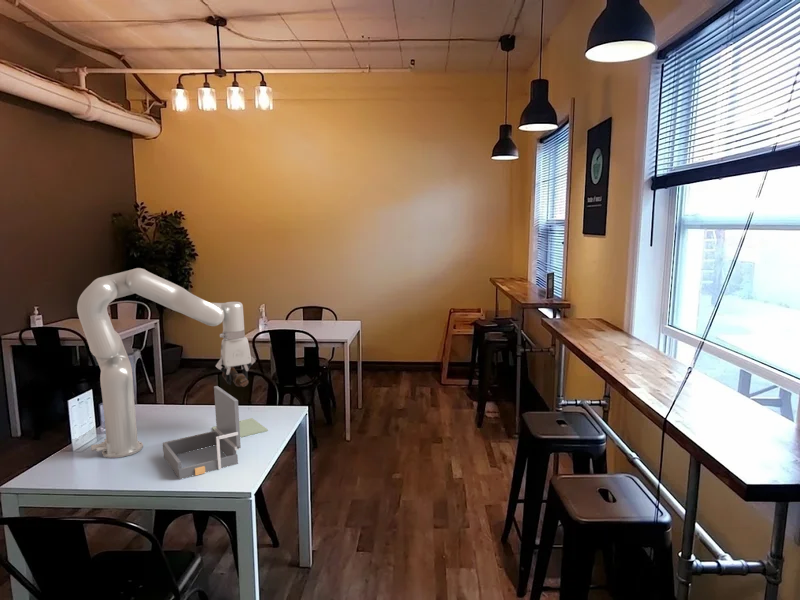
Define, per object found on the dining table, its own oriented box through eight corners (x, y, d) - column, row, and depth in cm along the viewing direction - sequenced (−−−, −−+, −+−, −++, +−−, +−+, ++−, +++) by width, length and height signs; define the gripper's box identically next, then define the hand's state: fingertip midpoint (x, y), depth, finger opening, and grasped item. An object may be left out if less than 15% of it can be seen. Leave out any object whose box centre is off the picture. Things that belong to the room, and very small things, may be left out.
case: (180, 480, 162) (175, 413, 159) (163, 456, 179) (158, 396, 176) (242, 463, 173) (238, 400, 170) (220, 442, 190) (217, 385, 188)
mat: (225, 441, 192) (225, 439, 192) (211, 428, 204) (211, 427, 204) (267, 430, 201) (267, 429, 201) (252, 419, 214) (252, 418, 214)
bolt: (243, 393, 195) (227, 383, 206) (254, 384, 197) (238, 374, 209) (234, 381, 192) (219, 371, 204) (246, 372, 195) (230, 363, 206)
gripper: (214, 339, 190) (217, 389, 192) (260, 333, 200) (262, 380, 202) (207, 336, 196) (211, 384, 198) (252, 330, 206) (255, 376, 208)
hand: (237, 382), depth 200 cm, fingers closed on bolt, 5 cm apart
